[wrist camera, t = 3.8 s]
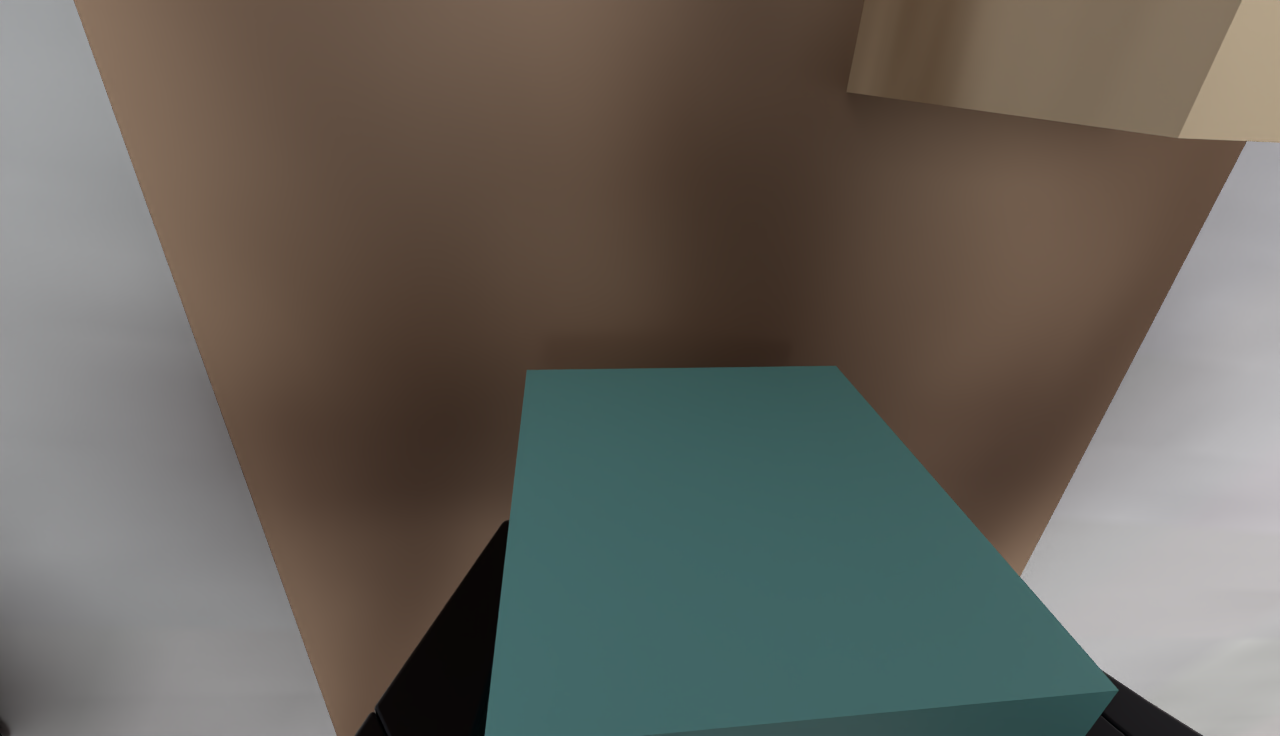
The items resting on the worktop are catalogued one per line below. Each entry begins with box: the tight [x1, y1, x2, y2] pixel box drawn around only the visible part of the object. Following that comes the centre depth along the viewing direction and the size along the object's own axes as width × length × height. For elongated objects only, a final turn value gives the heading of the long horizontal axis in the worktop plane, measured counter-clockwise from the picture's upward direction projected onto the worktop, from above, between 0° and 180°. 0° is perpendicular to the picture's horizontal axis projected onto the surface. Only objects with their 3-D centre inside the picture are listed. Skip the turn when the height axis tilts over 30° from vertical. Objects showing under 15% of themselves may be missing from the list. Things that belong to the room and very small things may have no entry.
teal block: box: [485, 366, 1119, 736], centre depth 8 cm, size 5×5×6 cm
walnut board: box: [74, 0, 1247, 736], centre depth 12 cm, size 18×25×1 cm
